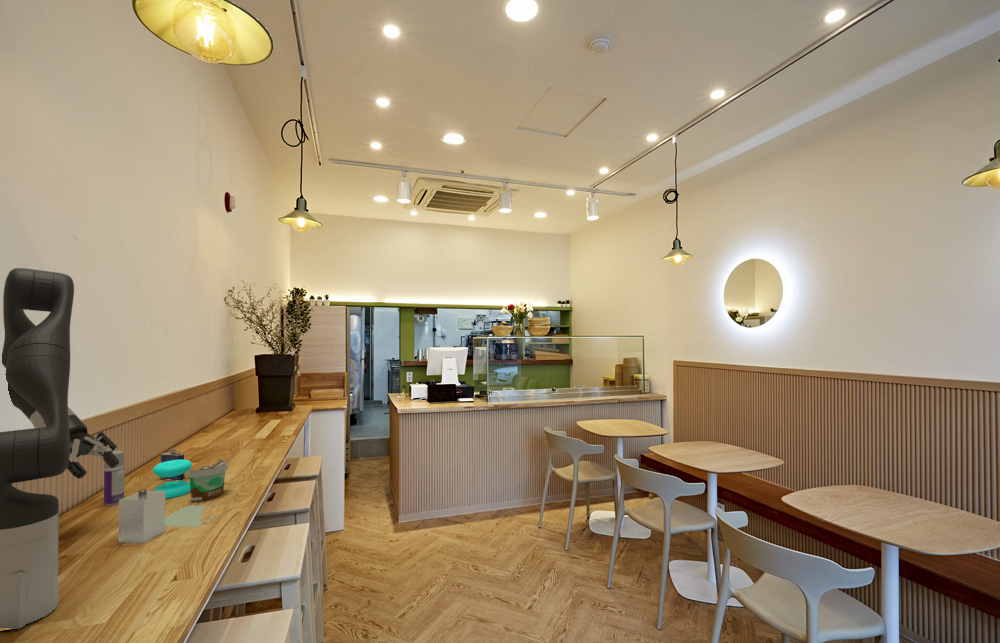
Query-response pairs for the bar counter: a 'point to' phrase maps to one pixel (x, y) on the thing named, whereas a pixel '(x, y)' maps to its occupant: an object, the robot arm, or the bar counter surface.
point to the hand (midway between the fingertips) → (100, 470)
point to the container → (114, 481)
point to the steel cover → (141, 516)
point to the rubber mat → (187, 517)
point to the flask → (168, 457)
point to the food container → (207, 481)
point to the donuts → (171, 470)
